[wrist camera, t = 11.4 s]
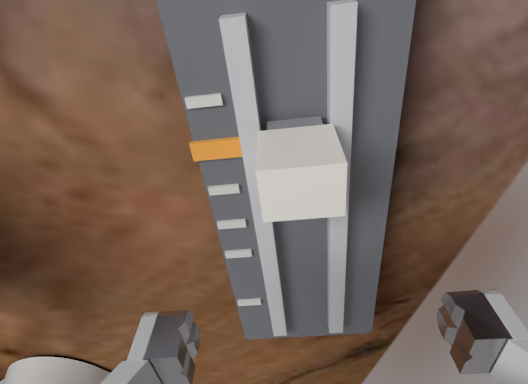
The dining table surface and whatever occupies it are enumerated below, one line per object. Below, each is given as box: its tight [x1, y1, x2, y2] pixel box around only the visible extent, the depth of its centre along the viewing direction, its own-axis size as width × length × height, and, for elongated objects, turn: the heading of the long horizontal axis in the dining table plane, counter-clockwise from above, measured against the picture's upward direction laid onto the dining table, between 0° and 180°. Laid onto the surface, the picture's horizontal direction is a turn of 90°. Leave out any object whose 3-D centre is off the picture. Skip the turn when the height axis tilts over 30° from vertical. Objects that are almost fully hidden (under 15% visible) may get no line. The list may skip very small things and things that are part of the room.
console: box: [156, 0, 416, 340], centre depth 24 cm, size 30×12×4 cm, turn 6°
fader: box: [255, 116, 348, 223], centre depth 17 cm, size 3×4×5 cm
